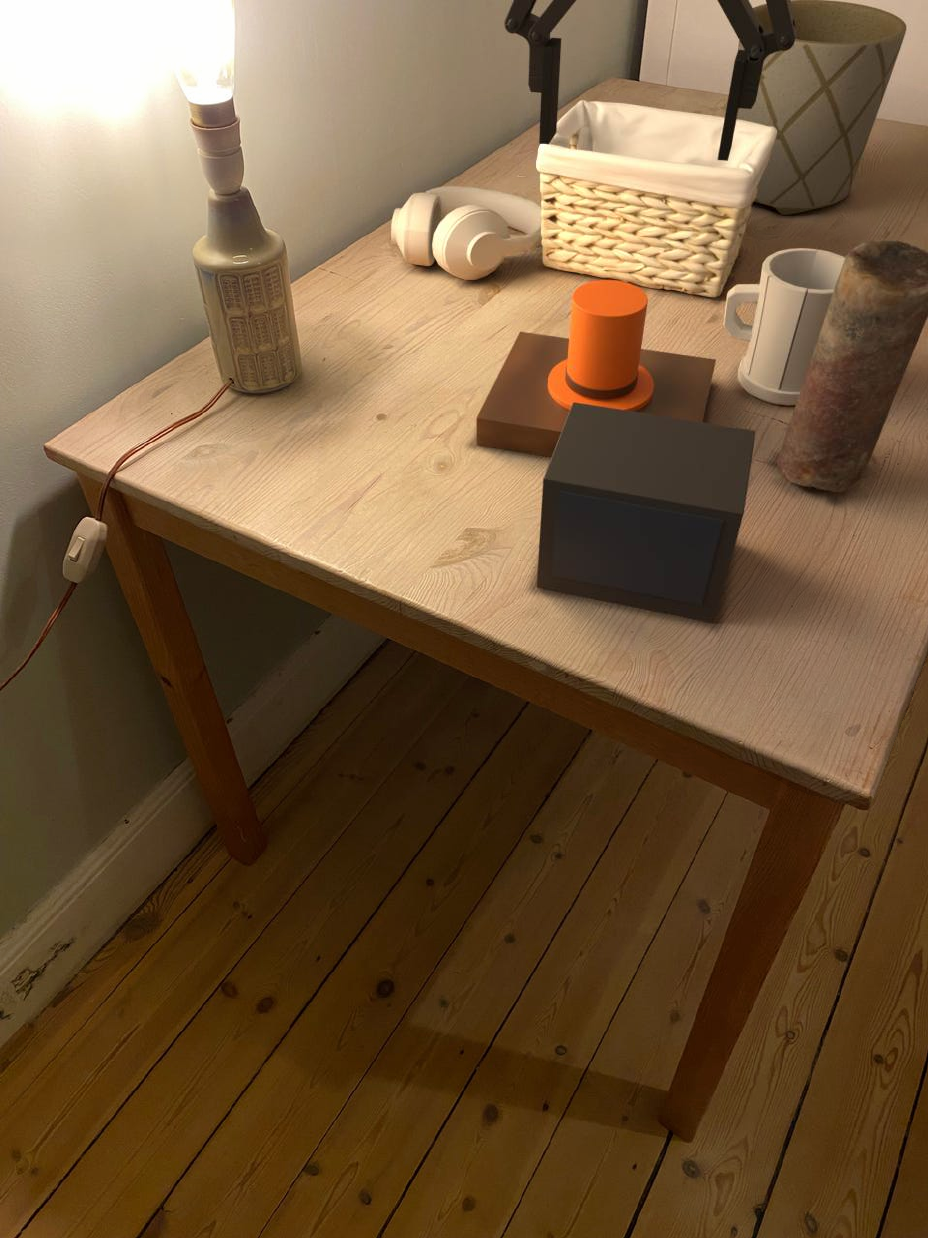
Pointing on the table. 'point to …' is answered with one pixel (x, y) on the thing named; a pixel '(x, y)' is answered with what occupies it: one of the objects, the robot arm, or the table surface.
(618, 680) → the table surface
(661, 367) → the brown wooden board
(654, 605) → the television
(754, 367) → the cup
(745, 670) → the table surface
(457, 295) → the table surface
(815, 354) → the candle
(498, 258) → the headphones
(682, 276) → the basket
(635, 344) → the hat
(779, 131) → the planter
